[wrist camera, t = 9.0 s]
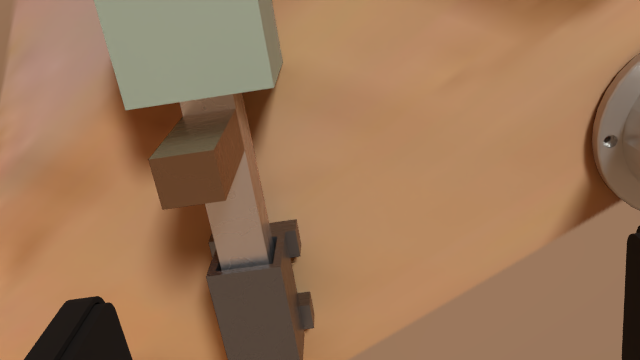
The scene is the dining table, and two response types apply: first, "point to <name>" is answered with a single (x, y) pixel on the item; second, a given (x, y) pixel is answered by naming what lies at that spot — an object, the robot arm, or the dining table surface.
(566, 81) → the dining table surface
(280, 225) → the sleeve
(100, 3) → the socket block
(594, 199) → the dining table surface
